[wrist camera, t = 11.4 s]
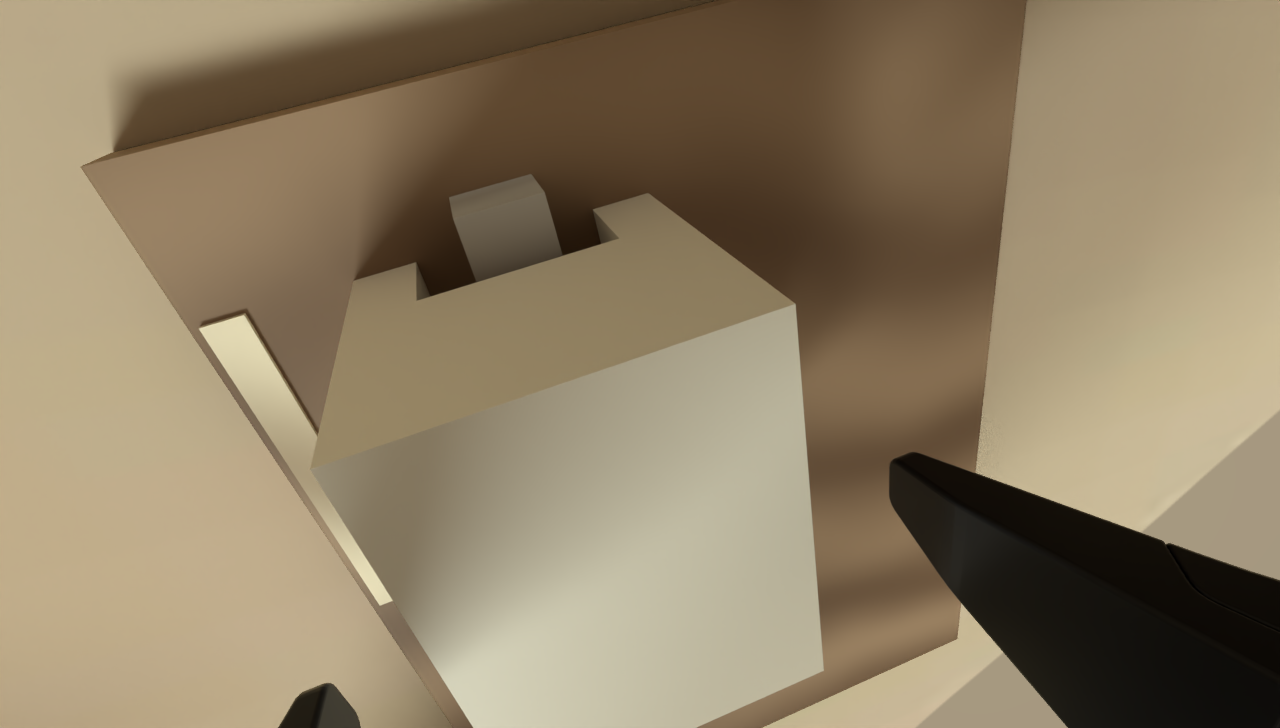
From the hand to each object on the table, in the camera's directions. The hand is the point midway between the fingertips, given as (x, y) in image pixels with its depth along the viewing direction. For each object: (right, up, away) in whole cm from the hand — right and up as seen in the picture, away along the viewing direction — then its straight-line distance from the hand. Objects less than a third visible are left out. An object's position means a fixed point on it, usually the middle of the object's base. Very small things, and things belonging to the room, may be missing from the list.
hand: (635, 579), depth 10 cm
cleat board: (+2, 0, +9) cm, 9 cm away
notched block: (-2, +2, +5) cm, 6 cm away
